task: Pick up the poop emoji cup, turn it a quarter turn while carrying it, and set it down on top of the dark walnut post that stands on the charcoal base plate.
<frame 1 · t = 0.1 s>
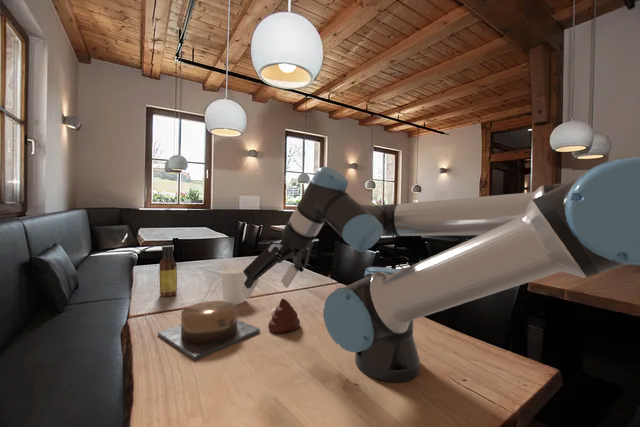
hand: (265, 289, 75), 15 cm above the table, tool tilted 35°, fingers open, 13 cm apart
poop emoji: (283, 328, 87), on the table
sauce bottle: (168, 295, 115), on the table
candle holder: (234, 301, 109), on the table
post stand: (209, 333, 82), on the table
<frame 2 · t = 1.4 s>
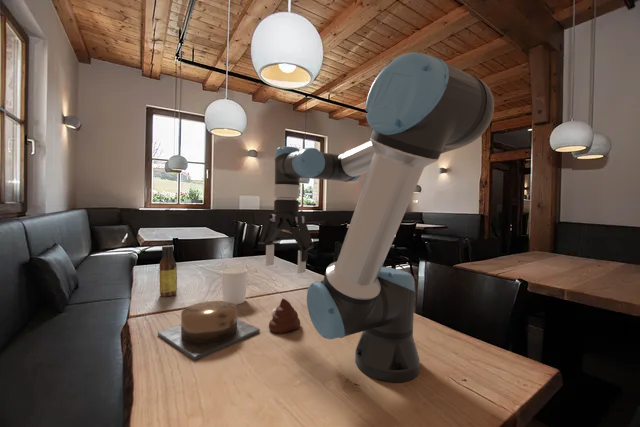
hand: (284, 268, 87), 18 cm above the table, tool pointing down, fingers open, 13 cm apart
nothing on the table moved.
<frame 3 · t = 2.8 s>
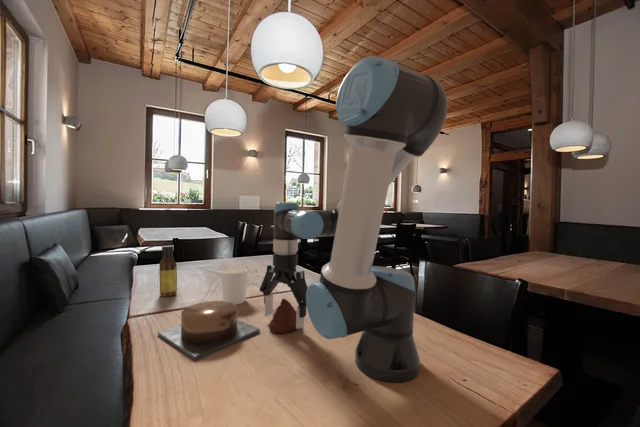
hand: (283, 320, 88), 2 cm above the table, tool pointing down, fingers open, 13 cm apart
nothing on the table moved.
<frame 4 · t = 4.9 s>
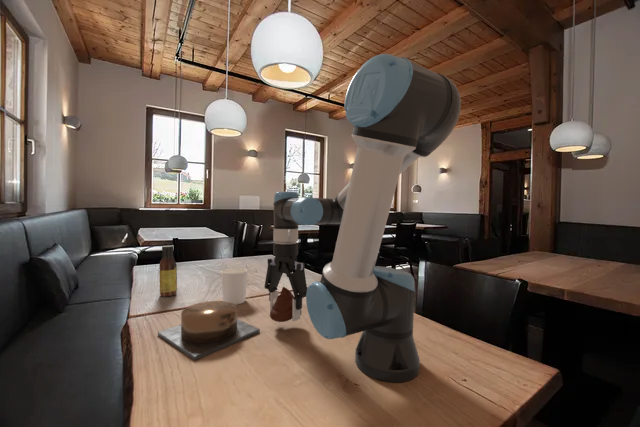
hand: (284, 315, 87), 4 cm above the table, tool pointing down, fingers closed on poop emoji, 9 cm apart
poop emoji: (285, 317, 87), point 3 cm above the table, touching gripper
everything else where it was.
when the fingers open (8 cm above the table, at t = 9.9 s): poop emoji stays where it is, resting on post stand.
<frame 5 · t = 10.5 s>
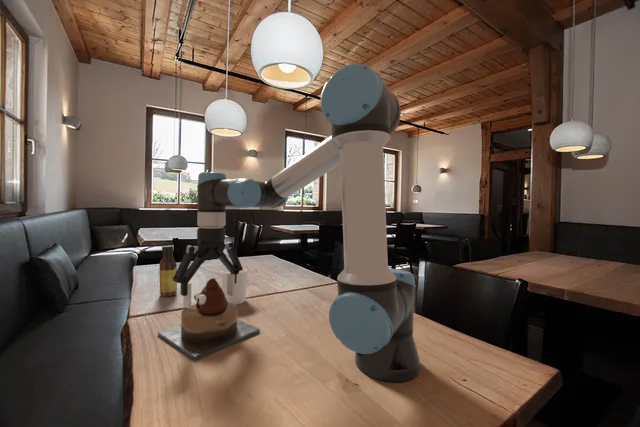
hand: (210, 300, 82), 10 cm above the table, tool pointing down, fingers open, 13 cm apart
poop emoji: (211, 310, 82), point 7 cm above the table, touching post stand
everything else where it was.
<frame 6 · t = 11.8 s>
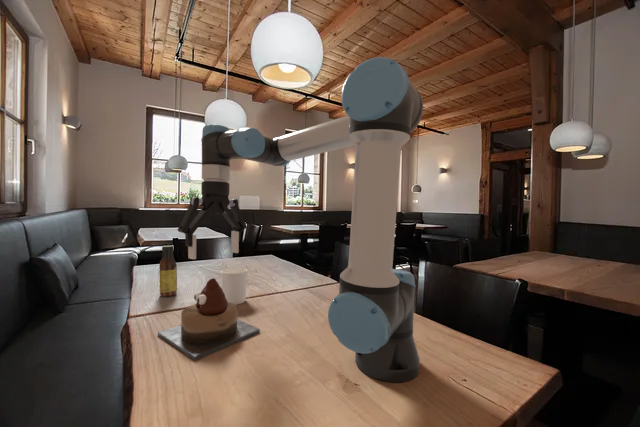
hand: (214, 255, 81), 23 cm above the table, tool pointing down, fingers open, 13 cm apart
nothing on the table moved.
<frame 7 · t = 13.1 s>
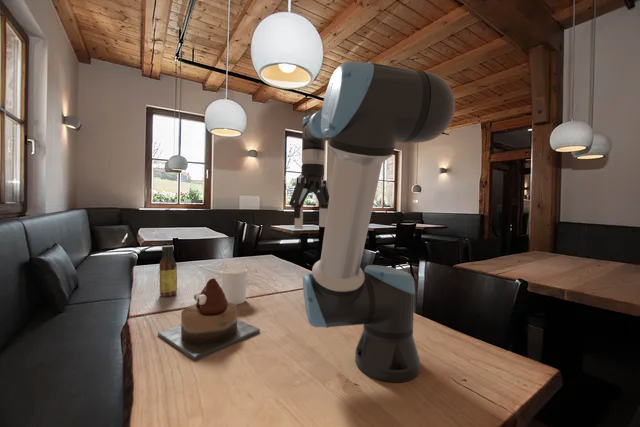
hand: (311, 227, 95), 30 cm above the table, tool pointing down, fingers open, 13 cm apart
nothing on the table moved.
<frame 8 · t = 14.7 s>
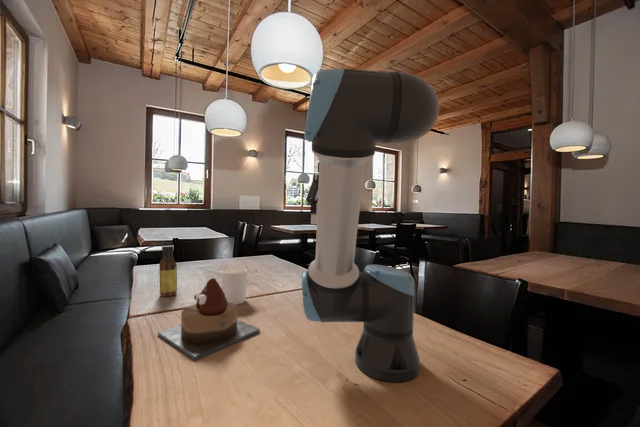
hand: (327, 223, 98), 32 cm above the table, tool pointing down, fingers open, 13 cm apart
nothing on the table moved.
at the end: poop emoji 0.4 cm off-centre on the post stand, point 6.8 cm above the post stand's base; poop emoji tilted 0°; the gripper is holding nothing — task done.
